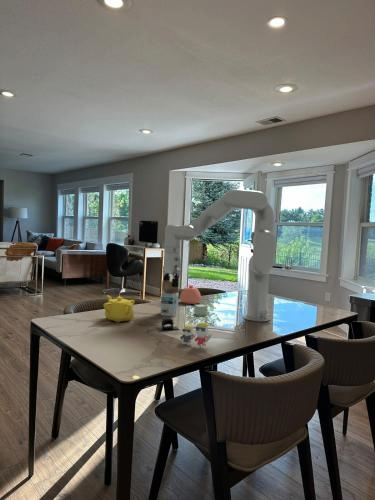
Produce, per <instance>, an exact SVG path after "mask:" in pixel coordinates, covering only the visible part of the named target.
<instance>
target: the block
mask: <svg viewBox="0 0 375 500" xmlns="http://www.w3.org/2000/svg"><path fill="white" fill-rule="evenodd" d="M161 281H162V283H161V292H162V293H163V292H165V293H178V291H179V286H180V285H179V284H180V283H179V284H178V287H172V280H170V281H163V280H161Z"/></svg>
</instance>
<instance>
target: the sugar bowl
mask: <svg viewBox="0 0 375 500" xmlns="http://www.w3.org/2000/svg"><path fill="white" fill-rule="evenodd" d="M179 300H180V302H181V303H183V304H184V305H188V304H189V305H190V304H192V305H194V304H195V305H197V304H199V303H201V301H202V294H201V293H200V290H199V289H198V288H197V287H194V285H193V284H189V285H188V286H186V287H184V288H183V289H182V291H181V293H179Z"/></svg>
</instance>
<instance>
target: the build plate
mask: <svg viewBox="0 0 375 500" xmlns="http://www.w3.org/2000/svg"><path fill="white" fill-rule="evenodd" d="M160 324H161V327H158V326H157V327H154V329H155V330H156V331H157V332H172V331H181V329H179V327H177V326H174V324H175V323H174V320H173V319H172V318H168V317H167V318H166V317H165V318H162V320H161V323H160Z"/></svg>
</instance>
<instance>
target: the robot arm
mask: <svg viewBox="0 0 375 500" xmlns="http://www.w3.org/2000/svg"><path fill="white" fill-rule="evenodd" d="M236 209H242V210H243V209H244V210H249V211H250V210H251V211H252V212H253V213H254V215H255V223H254V224H255V225H254V232H253V238H252V244H253V255H252V256H251V257H250V259H249V260H248V286H247V299H246V300H247V303H246V304H247V305H246V313H244V314H243V316H242V317H243V319H245V320H248V321H251V322H269V321H270V320H271V317H272V315H271V314H269V310H268V302H269V301H268V300H269V299H268V298H269V285H270V283H269V282H270V272H271V271H272V270H273V267H274V263H275V256H276V248H277V239H276V236H275V235H274V222H275V213H274V210H273V208H272V206H271V204H270V203H269V201H268V197H267V195H266V194H265V193H264V192H262V191H259V190H249V189H248V190H246V189H245V190H244V189H236V188H234V189H233V188H232V189H229V190H227V191H226V192H225V193H224V194H223V195H222V196H221V197H220V198H219V199H217V200H216V201H214V202H213V203H212V204H210V205H209V206H207V207H206V208H205V209H204V210H203V211H202V213H201V214H200V215H198V217H196V218H195V219H194V220H193V221H191V222H190V223H188V224H185V225H178V224H167V225H166V226H165V229H164V230H165V231H164V232H165V234H164V260H163V265H162V269H163V270H162V273H163V274H162V275H163V280H162V281H172V287H178V288H179V286H178V284H180V283H179V280H180V276H181V275H180V274H181V269H182V268H181V240H182V241H187V242H188V241H189V242H190V241H194V240H195V239H196V238H197V237H198V236H200V235H201V234H203V233H204V232H205V231H206V230H208V229H209V228H210V227H212V226H215V225H216V224H217V223H219V222H220V221H221V220H223V219H224V218H225V217H227V215H229V214H230V213H231V212H233V211H234V210H236ZM170 275H171V276H172V279H171V276H170Z"/></svg>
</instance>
